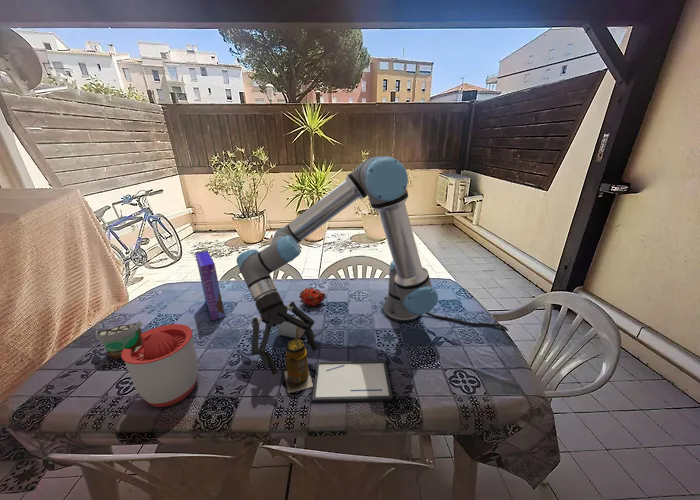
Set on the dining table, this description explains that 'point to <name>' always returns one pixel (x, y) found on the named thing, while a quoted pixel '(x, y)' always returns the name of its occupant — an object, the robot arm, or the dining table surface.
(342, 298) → the dining table surface
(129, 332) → the food container
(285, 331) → the ceramic mug
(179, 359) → the citrus juicer
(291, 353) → the condiment
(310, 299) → the dragon fruit
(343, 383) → the whiteboard
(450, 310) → the dining table surface
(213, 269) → the cereal box
